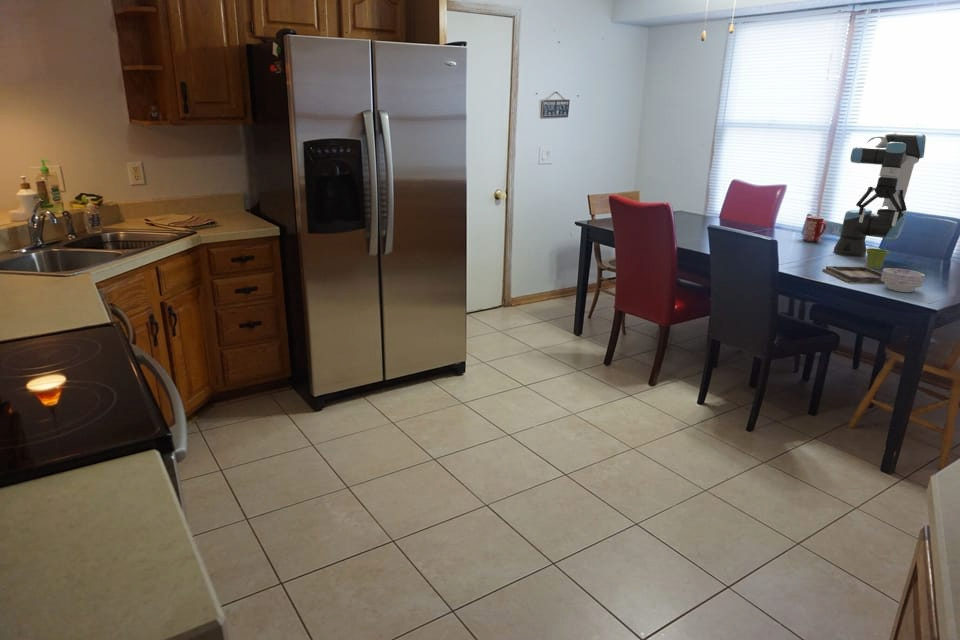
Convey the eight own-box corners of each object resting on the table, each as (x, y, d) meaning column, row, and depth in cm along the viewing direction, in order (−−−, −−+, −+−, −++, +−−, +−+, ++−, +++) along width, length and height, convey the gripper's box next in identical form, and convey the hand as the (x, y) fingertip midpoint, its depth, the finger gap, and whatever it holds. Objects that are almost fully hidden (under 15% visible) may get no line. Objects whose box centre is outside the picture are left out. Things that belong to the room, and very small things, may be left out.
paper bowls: (904, 284, 278) (908, 267, 276) (929, 295, 264) (934, 276, 261) (870, 284, 278) (875, 266, 275) (893, 294, 263) (898, 276, 261)
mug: (798, 239, 371) (803, 215, 366) (812, 238, 373) (816, 215, 368) (814, 243, 359) (819, 219, 355) (827, 243, 361) (832, 219, 357)
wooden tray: (867, 271, 299) (868, 266, 298) (895, 283, 280) (896, 277, 280) (822, 270, 298) (823, 265, 297) (846, 282, 279) (848, 276, 279)
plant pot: (858, 264, 312) (862, 247, 309) (879, 266, 311) (883, 248, 308) (867, 269, 303) (871, 251, 300) (888, 270, 302) (892, 252, 299)
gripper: (860, 174, 288) (849, 221, 293) (922, 180, 281) (910, 228, 286) (855, 174, 295) (845, 220, 300) (916, 180, 289) (904, 227, 293)
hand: (876, 224), depth 293 cm, fingers open, 13 cm apart
